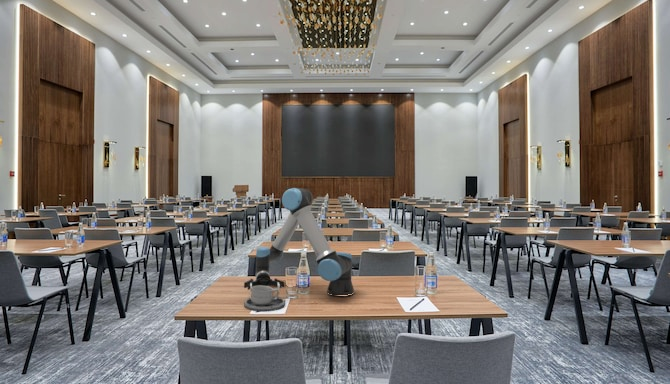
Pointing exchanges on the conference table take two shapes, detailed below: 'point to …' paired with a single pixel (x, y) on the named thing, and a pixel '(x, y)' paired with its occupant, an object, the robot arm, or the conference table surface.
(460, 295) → the conference table surface
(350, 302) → the conference table surface
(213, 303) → the conference table surface
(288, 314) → the conference table surface
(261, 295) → the teacup
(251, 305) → the dark grey plate
